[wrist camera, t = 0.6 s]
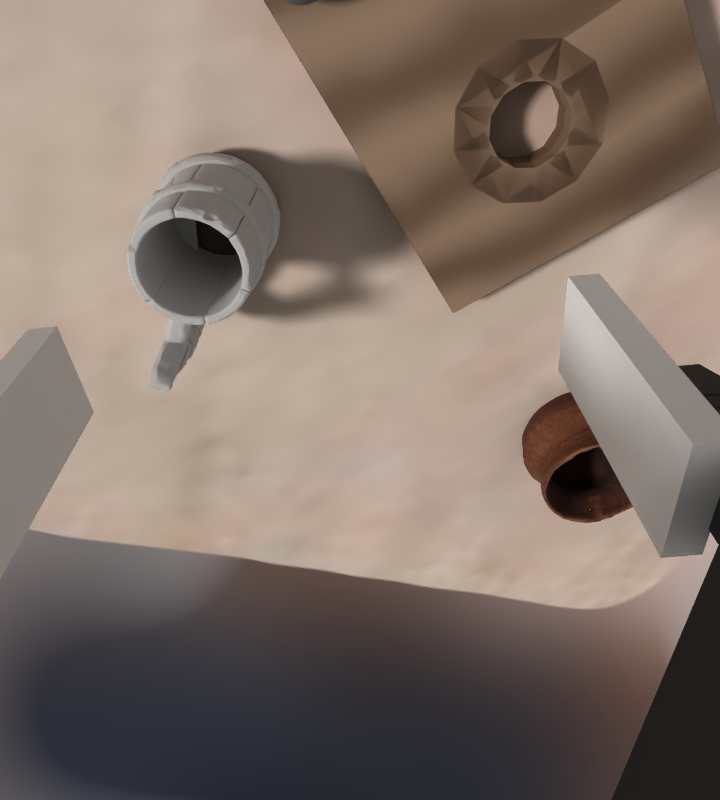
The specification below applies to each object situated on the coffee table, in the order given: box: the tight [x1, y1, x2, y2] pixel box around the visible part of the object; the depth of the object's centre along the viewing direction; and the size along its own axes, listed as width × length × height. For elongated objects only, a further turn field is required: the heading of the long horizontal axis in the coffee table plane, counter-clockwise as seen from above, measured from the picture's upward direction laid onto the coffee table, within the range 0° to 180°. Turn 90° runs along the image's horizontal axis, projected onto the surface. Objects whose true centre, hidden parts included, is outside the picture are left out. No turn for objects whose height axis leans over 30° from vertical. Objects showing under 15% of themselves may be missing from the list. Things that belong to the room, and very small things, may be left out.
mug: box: [127, 153, 280, 391], centre depth 35 cm, size 8×12×12 cm, turn 160°
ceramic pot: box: [522, 392, 633, 523], centre depth 47 cm, size 18×18×7 cm
